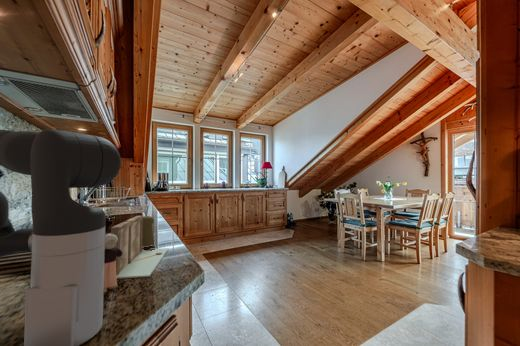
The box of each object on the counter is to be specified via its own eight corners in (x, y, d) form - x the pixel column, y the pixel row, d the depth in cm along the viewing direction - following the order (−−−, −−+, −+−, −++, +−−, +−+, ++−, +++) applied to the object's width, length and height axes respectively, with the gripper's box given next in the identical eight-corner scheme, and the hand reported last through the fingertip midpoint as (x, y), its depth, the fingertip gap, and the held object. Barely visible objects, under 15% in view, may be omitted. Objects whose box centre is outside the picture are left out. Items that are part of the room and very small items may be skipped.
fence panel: (129, 262, 66) (130, 221, 67) (122, 262, 66) (124, 221, 66) (141, 250, 77) (142, 215, 77) (136, 250, 77) (137, 215, 77)
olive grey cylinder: (151, 242, 90) (152, 214, 90) (156, 245, 85) (157, 216, 86) (134, 245, 86) (135, 216, 86) (139, 249, 81) (140, 218, 82)
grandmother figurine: (100, 297, 48) (102, 238, 49) (86, 295, 49) (87, 237, 50) (128, 281, 56) (129, 230, 56) (115, 280, 57) (116, 229, 57)
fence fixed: (117, 275, 58) (118, 227, 59) (109, 276, 58) (110, 227, 58) (128, 264, 66) (130, 221, 66) (122, 264, 66) (123, 221, 66)
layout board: (149, 276, 59) (149, 274, 59) (100, 279, 57) (100, 277, 57) (168, 249, 81) (168, 247, 81) (134, 250, 79) (134, 249, 79)
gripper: (37, 231, 64) (105, 229, 67) (68, 222, 77) (123, 221, 80) (36, 258, 64) (104, 255, 67) (67, 245, 77) (123, 242, 80)
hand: (114, 236), depth 74 cm, fingers closed
